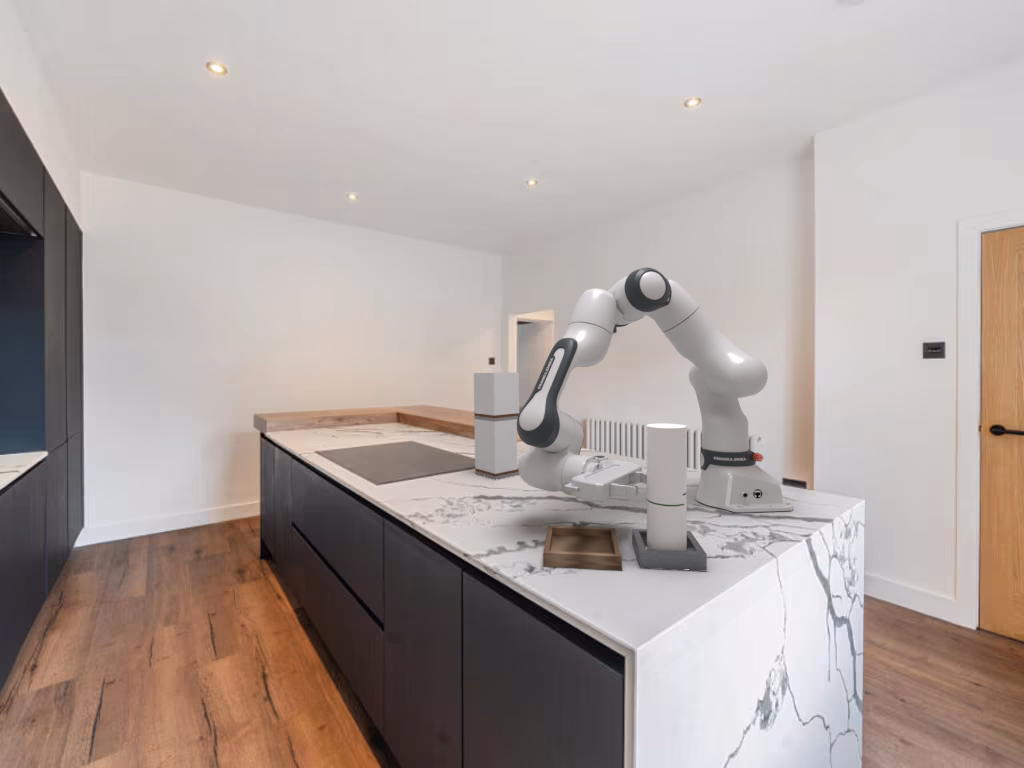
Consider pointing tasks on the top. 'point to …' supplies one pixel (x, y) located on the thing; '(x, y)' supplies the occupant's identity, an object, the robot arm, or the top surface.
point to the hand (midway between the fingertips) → (646, 486)
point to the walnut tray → (582, 548)
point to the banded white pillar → (496, 424)
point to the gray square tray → (669, 554)
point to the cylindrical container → (666, 487)
